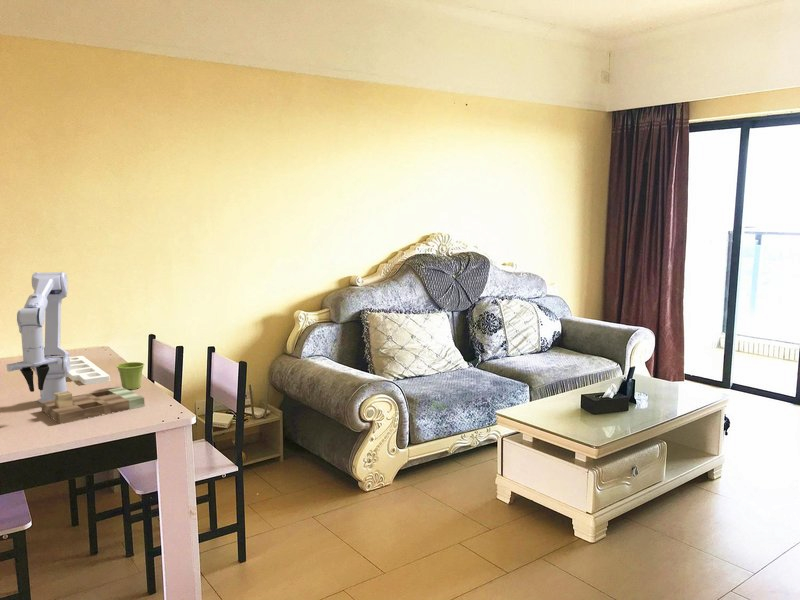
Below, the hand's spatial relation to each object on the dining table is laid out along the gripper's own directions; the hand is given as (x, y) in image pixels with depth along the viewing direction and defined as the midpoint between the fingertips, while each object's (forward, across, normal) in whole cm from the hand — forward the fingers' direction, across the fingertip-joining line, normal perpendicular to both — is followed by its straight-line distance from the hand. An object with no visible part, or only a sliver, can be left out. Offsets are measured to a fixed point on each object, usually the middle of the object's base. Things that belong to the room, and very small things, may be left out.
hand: (36, 390), depth 201 cm
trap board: (+9, +16, 0) cm, 19 cm away
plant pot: (+10, +36, +17) cm, 41 cm away
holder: (+10, +28, +56) cm, 63 cm away
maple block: (+6, +8, 0) cm, 10 cm away
